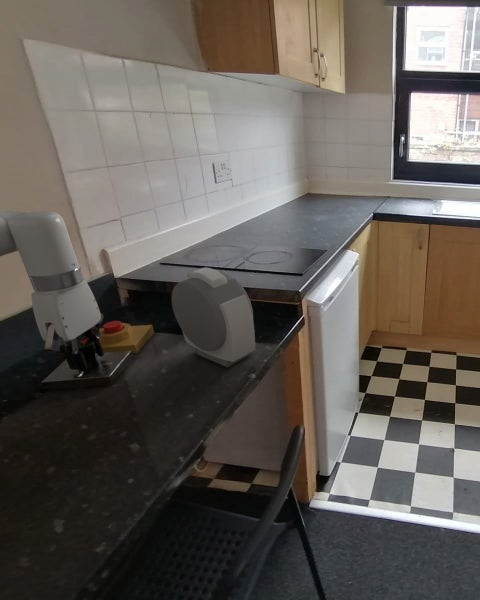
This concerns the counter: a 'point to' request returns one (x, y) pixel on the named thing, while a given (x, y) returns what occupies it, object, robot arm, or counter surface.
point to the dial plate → (89, 372)
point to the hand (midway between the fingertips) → (87, 361)
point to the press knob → (113, 327)
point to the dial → (89, 352)
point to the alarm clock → (215, 315)
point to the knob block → (126, 338)
